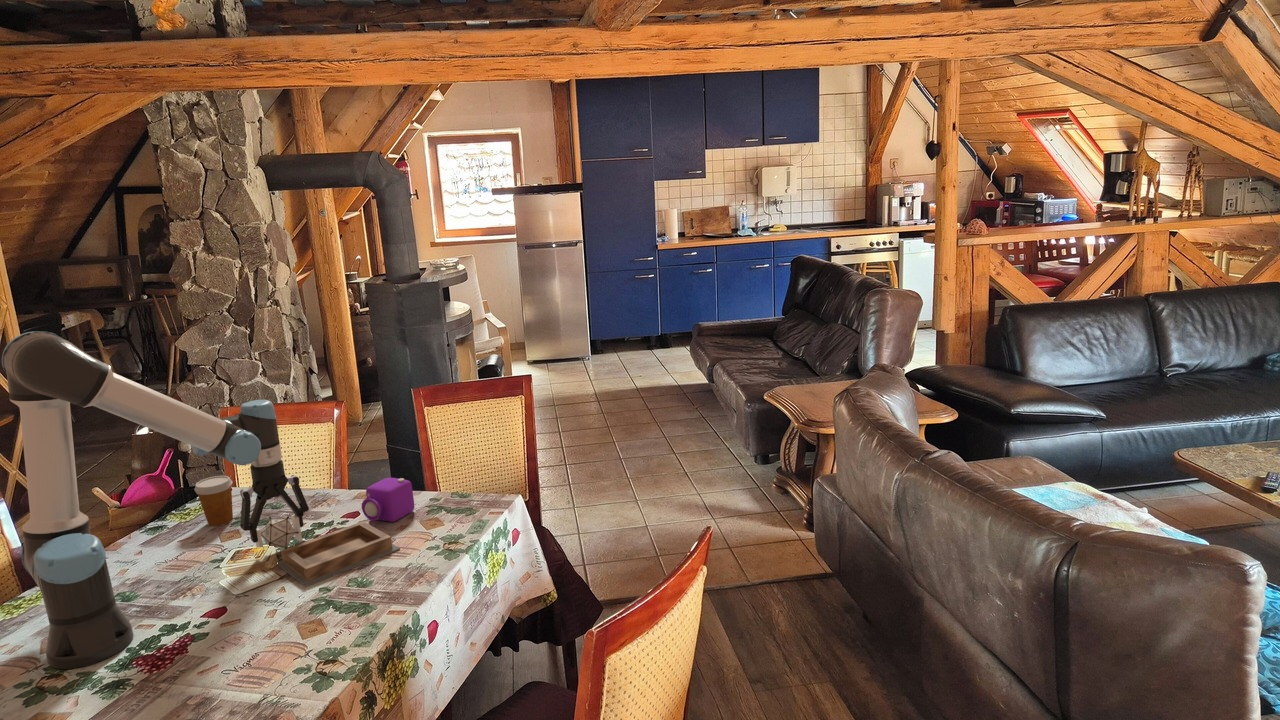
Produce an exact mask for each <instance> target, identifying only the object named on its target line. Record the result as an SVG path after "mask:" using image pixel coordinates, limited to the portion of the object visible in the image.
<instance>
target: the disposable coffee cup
mask: <svg viewBox="0 0 1280 720" xmlns="http://www.w3.org/2000/svg"><path fill="white" fill-rule="evenodd" d="M232 484H233V480H232V479H231V478H230V477H229V476H228V475H215V476H210V477H207V478H203V479H201V480H199V481H198V482H196V483H195V488H194V492H195V493H196V494H197V496H198V500H199V502H200V504H201V505H200V506H201V508H202V511H203V513H204V516H205V518H206V523H207V525H208V526H211V527H218V526H219V527H220V526H223V525H226V524H227V525H228V524H229V523H230V522H232V521H233V520H234V515H233V512H234V511H233V496H232V495H233V494H232V493H233V491H232V487H233V485H232Z"/></svg>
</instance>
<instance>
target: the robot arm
mask: <svg viewBox="0 0 1280 720" xmlns="http://www.w3.org/2000/svg"><path fill="white" fill-rule="evenodd" d="M1 366H2V369H3V371H4V372H5V374H6V376H7V378H6V379H7V387H8V395H9V396H8V397H9V401H10V402H11V403H13V404H14V405H16V406H17V407H18V408H19V413H20V414H19V415H20V426H21V434H22V435H21V436H22V445H23V446H22V447H23V456H24V457H23V458H24V466H25V475H26V476H25V477H26V486H27V496H28V506H29V514H30V515H29V516H30V518H29V519H28V520H27V522H26V523H25V524H24V525H22V537H23V544H22V547H21V555H20V557H21V562H22V565H23V566H24V568H25V571H26V572H27V574H29V575H30V576H31V577H32V579H33V581H34V582H35V583H36V584H37V586H38V588H39V590H40V593H41V595H42V600H43V603H44V607H45V611H46V616H47V619H48V623H49V627H48V635H47V640H46V641H47V643H46V648H45V655H46V659H47V663H48V665H49V666H50V667H52V668H54V669H58V670H59V669H60V670H69V669H70V670H71V669H78V668H83V667H87V666H90V665H93V664H96V663H99V662H101V661H104V660H107V659H108V658H110V657H112V656H115V655H117V654H118V653H120V652H121V651H122V650H124V649H125V648H126V647H127V646H128V645H130V644H131V643H132V641H133V640H134V636H135V635H134V631H133V627H132V626H133V625H132V624H131V622H130V621H129V620H128V618H127V617H126V616H125V613H124V612H123V611H122V610H121V609H120V607H119V606H118V605H117V601H116V598H115V597H116V596H115V592H114V589H113V585H112V580H111V576H110V571H109V567H108V563H107V559H106V558H107V557H106V550H105V548H104V546H103V544H102V542H101V541H102V540H101V539H99V538H98V537H97V536H96V535H93V534H91V532H90V530H91V529H90V519H89V516H88V515H86V513H83V512H81V511H80V504H79V501H80V500H79V494H78V493H79V492H78V480H77V470H76V469H77V467H76V461H75V460H76V459H75V447H74V445H75V444H74V437H73V436H74V435H73V426H72V414H71V404H73V405H76V406H79V407H82V408H87V407H95V408H98V409H100V410H103V411H105V412H107V413H110V414H112V415H115V416H118V417H120V418H123V419H125V420H127V421H130V422H133V423H136V424H138V425H140V426H142V427H145V428H148V429H150V430H151V431H155V432H158V433H160V434H163V435H165V436H167V437H170V438H172V439H175V440H177V441H181V442H182V443H185V444H187V445H190V447H191V450H192V452H193V453H194V454H195V455H196V456H199V457H200V456H206V455H211V454H212V455H214V456H217V457H219V458H221V459H224V460H226V461H228V462H229V463H231V464H234V465H238V466H246V465H250V467H249V468H250V474H251V481H252V484H251V487H250V488H247V489H244V488H243V489H241V490H240V491H239V493H240V496H241V510H240V525H239V527H240V528H241V529H242V530H243V531H245V532H247V531H249V535H250V540H251V542H253V543H254V544H255V546H256V548H257V547H263V548H264V544H263V537H262V536H261V532H262V531H261V529H260V528H259V527H258V526H259V522H260V520H261V518H262V517H261V516H262V513H263V510H264V507H265V505H266V504H267V501H269V500H272V499H273V498H278V497H281V499H282V500H283V501H284V503H286V505H287V506H288V508H290V510H291V511H292V512H293V513H294V514H291V522H292V527H293V529H294V530H295V532H300V533H295V535H294V539H295V540H297V541H298V542H303V537H302V530H301V528H302V527H304V519H303V516H304V515H305V514H304V513H305V512H309V510H310V508H309V506H308V503H307V501H306V498H305V496H304V493H303V490H302V489H301V487H300V477H298V476H296V475H294V474H292V475H291V476H287V475H286V473H285V466H284V461H283V459H282V458H283V455H282V453H283V452H282V448H281V442H280V438H279V431H278V430H279V429H278V420H277V415H276V411H275V406H274V404H273V402H272V401H271V400H268V399H256V400H250V401H249V400H248V401H247V402H244V403H242V404H241V405H240V410H239V413H237V414H233V415H228V416H225V417H220V418H218V417H216V416H215V415H211V414H209V413H207V412H204V411H202V410H200V409H197V408H195V407H193V406H191V405H188V404H186V403H185V402H182V401H180V400H177V399H175V398H173V397H171V396H169V395H165V394H164V393H161V392H159V391H158V390H157V391H156V390H154V389H152V388H150V387H147V386H145V385H143V384H141V383H138V382H136V381H133V380H132V379H129V378H127V377H124V376H122V375H120V374H117V373H116V372H113V370H112V367H111V365H110V364H107V363H105V362H103V361H101V360H99V359H97V358H95V357H93V356H92V355H90V354H88V353H86V352H85V351H84V350H82V349H80V348H79V347H77V346H76V345H75V344H74V343H72V342H70V341H69V340H67V339H64V338H62V336H59V335H58V334H56V333H53V332H49V331H28V332H24V333H21V334H19V335H17V336H15V337H13V339H11V340H9V342H8V343H7V344H6V345H5V348H4V350H3V352H2V355H1ZM287 485H290V486H291V489H292V491H293V493H294V496H295V498H296V501H297V503H298V505H299V506H298V505H297V504H296V503H295V501H293V499H292V498H291V496H289V494H288V493H287V492H286V490H285V489H286V487H287ZM253 493H254V494H256V498H255V504H254V506H253V510H252V513H251V506H252V505H251V498H252V496H253Z"/></svg>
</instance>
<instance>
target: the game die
mask: <svg viewBox="0 0 1280 720" xmlns="http://www.w3.org/2000/svg"><path fill="white" fill-rule="evenodd" d="M268 519H269V521H268V522H267V523H266V525H265V526H264V527H263V529H262V531H261V537H262V540H264V542H265V544H266V545H267V546H268V545H269V546H274V547H275V548H282V549H283V548H285V549H287V548H288V547H287V546H288V545H289V544H290V542H291V540H292V539H293V538H294V537H295V533H300V532H295V530H294V528H293V525H292V524H291V523H290V521H289V519H290V516H289V515H288V516H286V518H272V517H271V516H269V517H268ZM269 546H268V547H269ZM275 548H274V549H275Z"/></svg>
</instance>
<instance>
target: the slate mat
mask: <svg viewBox="0 0 1280 720" xmlns="http://www.w3.org/2000/svg"><path fill="white" fill-rule="evenodd" d="M392 547H393V548H392V549H389V550H387V551H384V552H382V553H379V554H377V555H374V556H371V557H369V558H366V559H364V560H361V561H359V562H356V563H354V564H351V565H348V566H346V567H343V568H341V569H338V570H336V571H333V572H331V573H328V574H325V575H323V576H320V577H318V578H315V579H313V580H310V581H307V580H306V579H304V578H303V577H302V576H300V575H299V574H298V573H296V572H295V571H294V570H292V569H291V568H290V567H288V566H287V565H286V564H284V563H283V560H282V559H280V560H278V561H277V562H278V565H279V566H278V565H277V566H278V567H279V568H280V569H282V570H283V571H284V572H286V573H287V575H288V574H289V575H290V576H291V577H292V578H294V579H295V580H296V581H298V583H300V584H302V586H303V587H309V586H312V585H314V584H317V583H320V582H322V581H324V580H325V581H326V580H327V579H329V578H332V577H335V576H337V575H340V574H342V573H345V572H347V571H349V570H352V569H354V568H357V567H360V566H363V565H365V564H368V563H370V562H372V561H375V560H377V559H380V558H382V557H385V556H388V555H390V554H392V553H395V552H397V551H400V550H401V548H400V547H398V546H397V545H395V544H393V543H392Z"/></svg>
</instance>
